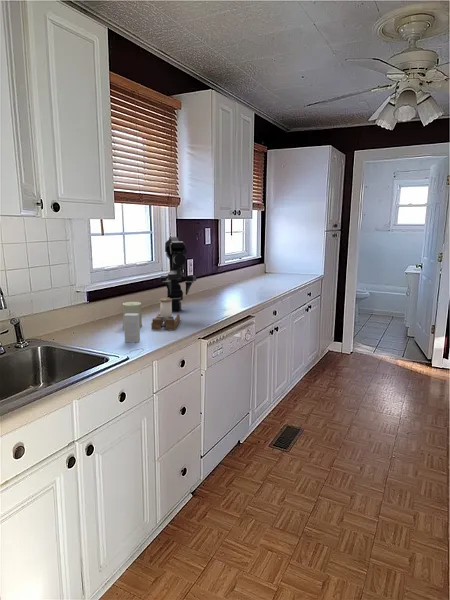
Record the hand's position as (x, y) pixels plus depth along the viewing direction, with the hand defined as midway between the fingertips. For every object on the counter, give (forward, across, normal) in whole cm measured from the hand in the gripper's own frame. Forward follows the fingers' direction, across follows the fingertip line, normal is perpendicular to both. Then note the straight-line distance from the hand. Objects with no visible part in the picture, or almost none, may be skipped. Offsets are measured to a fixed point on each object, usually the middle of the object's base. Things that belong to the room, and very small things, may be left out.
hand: (178, 294), depth 220 cm
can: (+14, -16, -22) cm, 30 cm away
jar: (+14, -2, -12) cm, 19 cm away
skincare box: (+17, -4, -44) cm, 47 cm away
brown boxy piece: (+14, -2, -13) cm, 19 cm away
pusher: (+14, 0, -19) cm, 24 cm away
